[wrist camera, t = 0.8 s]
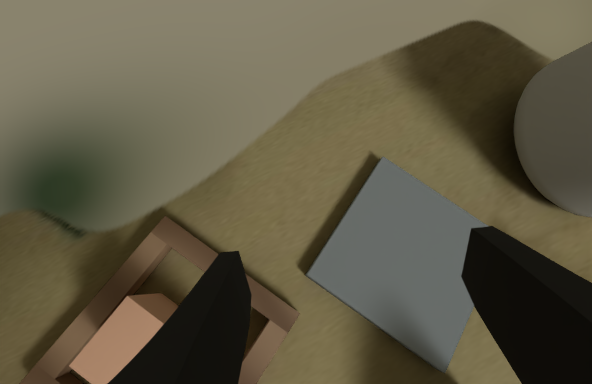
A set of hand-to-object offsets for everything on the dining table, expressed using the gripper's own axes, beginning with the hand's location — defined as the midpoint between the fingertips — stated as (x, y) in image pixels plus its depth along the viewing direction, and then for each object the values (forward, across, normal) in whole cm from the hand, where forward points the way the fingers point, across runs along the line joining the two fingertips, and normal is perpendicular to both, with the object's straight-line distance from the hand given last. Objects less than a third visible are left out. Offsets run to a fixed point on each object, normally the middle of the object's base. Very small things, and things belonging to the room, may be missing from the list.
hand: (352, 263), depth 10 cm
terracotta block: (+6, +12, +12) cm, 18 cm away
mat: (+12, -6, +11) cm, 17 cm away
